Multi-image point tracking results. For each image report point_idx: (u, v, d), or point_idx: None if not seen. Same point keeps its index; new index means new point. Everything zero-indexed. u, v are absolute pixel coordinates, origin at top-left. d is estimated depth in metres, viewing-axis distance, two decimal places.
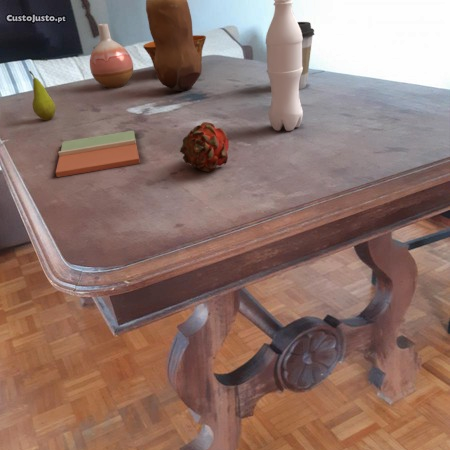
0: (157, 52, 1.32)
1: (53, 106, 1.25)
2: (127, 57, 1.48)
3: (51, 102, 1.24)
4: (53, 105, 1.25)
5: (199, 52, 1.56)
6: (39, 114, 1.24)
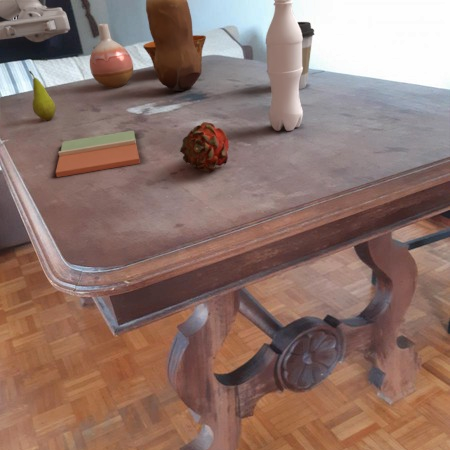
0: (157, 52, 1.32)
1: (53, 106, 1.25)
2: (127, 57, 1.48)
3: (51, 102, 1.24)
4: (53, 105, 1.25)
5: (199, 52, 1.56)
6: (39, 114, 1.24)
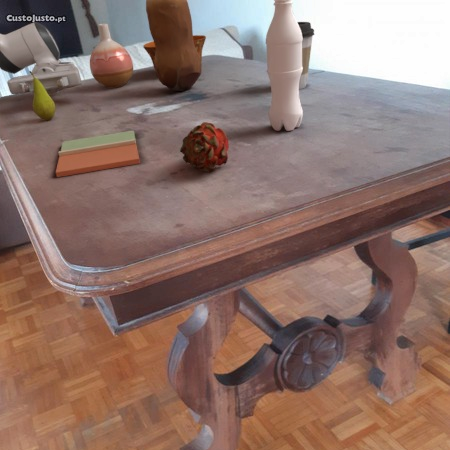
0: (157, 52, 1.32)
1: (53, 106, 1.25)
2: (127, 57, 1.48)
3: (51, 102, 1.24)
4: (53, 105, 1.25)
5: (199, 52, 1.56)
6: (39, 114, 1.24)
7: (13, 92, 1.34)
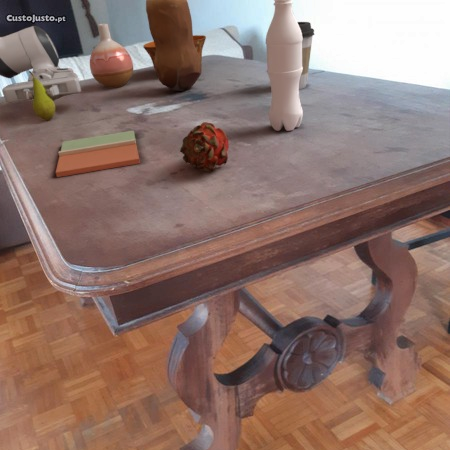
0: (157, 52, 1.32)
1: (53, 106, 1.25)
2: (127, 57, 1.48)
3: (51, 102, 1.24)
4: (53, 105, 1.25)
5: (199, 52, 1.56)
6: (39, 114, 1.24)
7: (8, 100, 1.26)
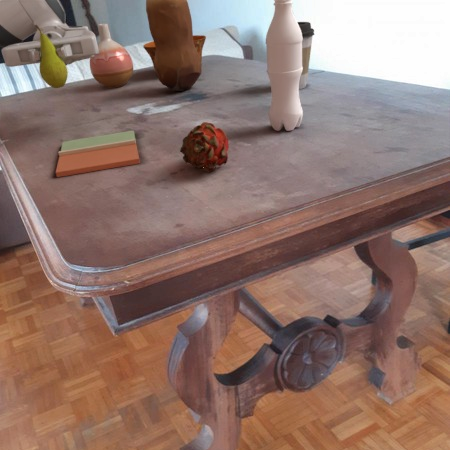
0: (157, 52, 1.32)
1: (65, 70, 1.00)
2: (127, 57, 1.48)
3: (63, 65, 0.99)
4: (65, 69, 1.00)
5: (199, 52, 1.56)
6: (48, 80, 1.00)
7: (9, 63, 1.01)
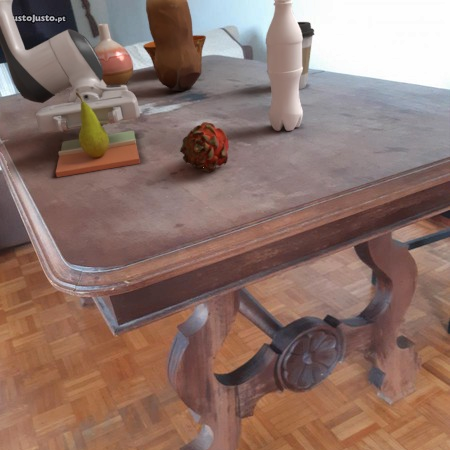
0: (157, 52, 1.32)
1: (107, 139, 0.92)
2: (127, 57, 1.48)
3: (104, 134, 0.91)
4: (107, 138, 0.92)
5: (199, 52, 1.56)
6: (88, 150, 0.92)
7: (44, 129, 0.93)
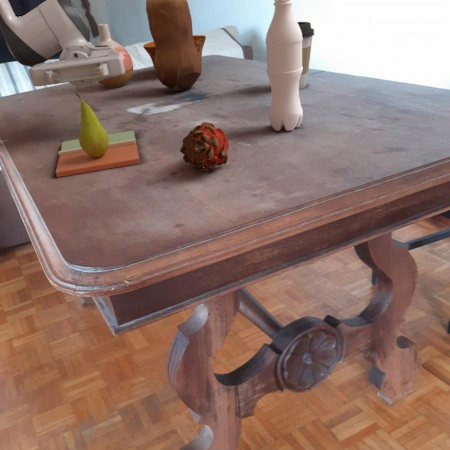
0: (157, 52, 1.32)
1: (107, 139, 0.92)
2: (127, 57, 1.48)
3: (104, 134, 0.91)
4: (107, 138, 0.92)
5: (199, 52, 1.56)
6: (88, 150, 0.92)
7: (36, 83, 1.02)
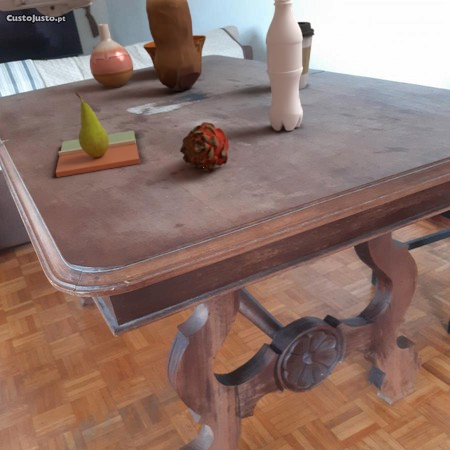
0: (157, 52, 1.32)
1: (107, 139, 0.92)
2: (127, 57, 1.48)
3: (104, 134, 0.91)
4: (107, 138, 0.92)
5: (199, 52, 1.56)
6: (88, 150, 0.92)
7: (3, 7, 0.97)
